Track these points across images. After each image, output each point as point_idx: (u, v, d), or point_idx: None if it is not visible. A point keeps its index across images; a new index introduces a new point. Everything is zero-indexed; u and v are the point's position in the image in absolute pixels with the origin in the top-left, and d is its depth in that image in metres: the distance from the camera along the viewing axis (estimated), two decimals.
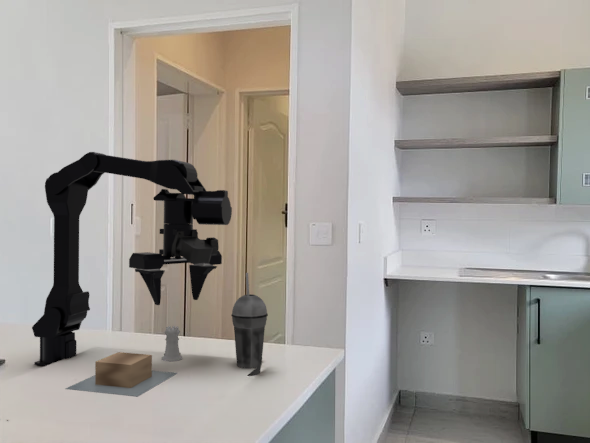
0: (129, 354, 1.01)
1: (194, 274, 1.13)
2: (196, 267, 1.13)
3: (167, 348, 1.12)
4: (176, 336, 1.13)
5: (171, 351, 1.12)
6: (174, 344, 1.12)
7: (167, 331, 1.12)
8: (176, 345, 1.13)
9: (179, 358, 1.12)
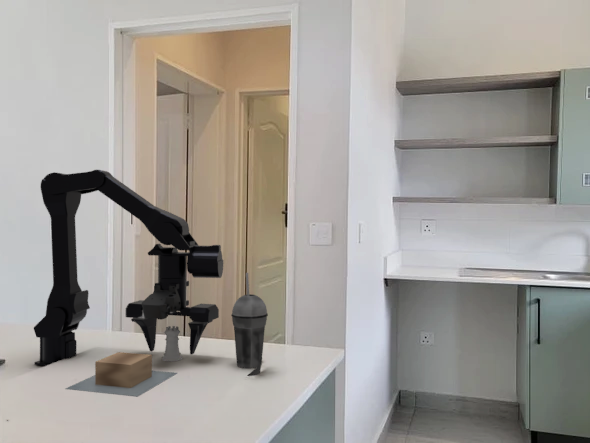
0: (129, 354, 1.01)
1: None
2: None
3: (167, 348, 1.12)
4: (176, 336, 1.13)
5: (171, 351, 1.12)
6: (174, 344, 1.12)
7: (167, 331, 1.12)
8: (176, 345, 1.13)
9: (179, 358, 1.12)
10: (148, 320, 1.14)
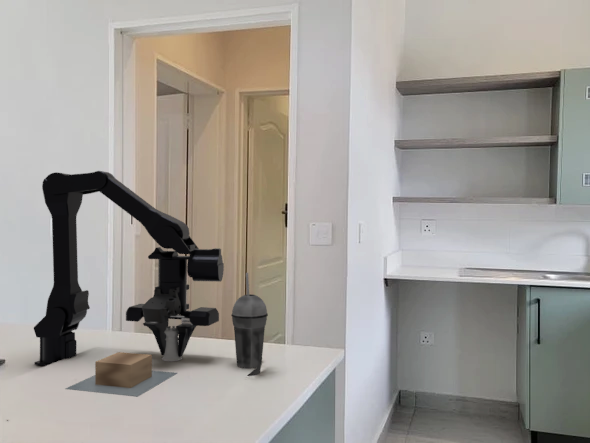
0: (129, 354, 1.01)
1: None
2: None
3: (167, 348, 1.12)
4: (176, 336, 1.13)
5: (171, 351, 1.12)
6: (174, 344, 1.12)
7: (167, 331, 1.12)
8: (176, 345, 1.13)
9: (179, 358, 1.12)
10: (160, 324, 1.13)
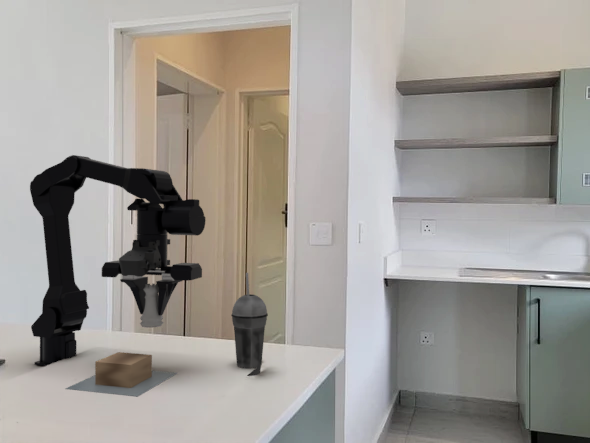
0: (129, 354, 1.01)
1: None
2: None
3: (146, 306, 1.05)
4: (156, 293, 1.05)
5: (150, 309, 1.05)
6: (154, 302, 1.05)
7: (146, 288, 1.05)
8: (156, 303, 1.05)
9: (159, 317, 1.05)
10: (139, 281, 1.06)
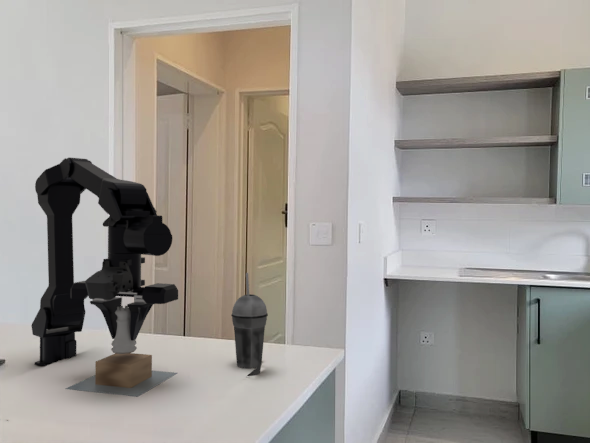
0: (129, 354, 1.01)
1: None
2: None
3: (118, 331, 0.97)
4: (128, 317, 0.97)
5: (122, 334, 0.97)
6: (126, 326, 0.97)
7: (118, 311, 0.97)
8: (128, 327, 0.97)
9: (132, 342, 0.97)
10: (110, 303, 0.98)
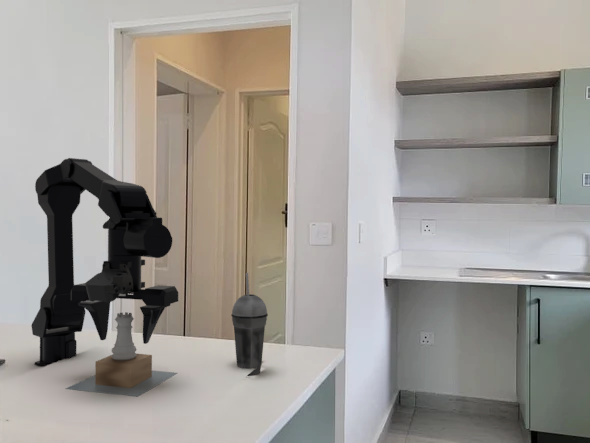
0: None
1: None
2: None
3: (118, 338, 0.97)
4: (129, 324, 0.97)
5: (122, 341, 0.97)
6: (126, 333, 0.97)
7: (118, 318, 0.97)
8: (129, 334, 0.97)
9: (132, 349, 0.97)
10: (98, 304, 0.99)
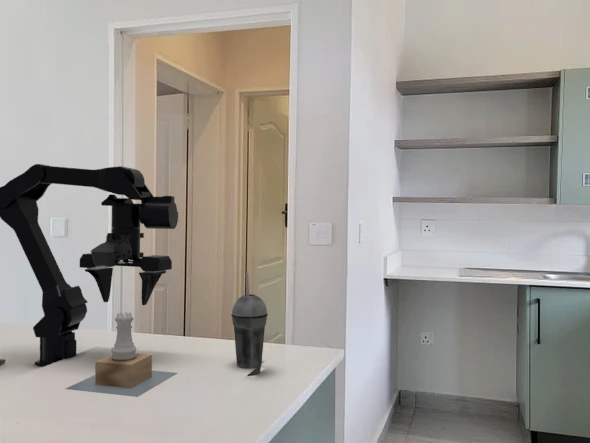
0: None
1: None
2: None
3: (118, 338, 0.97)
4: (128, 324, 0.97)
5: (122, 341, 0.97)
6: (126, 333, 0.97)
7: (118, 318, 0.97)
8: (128, 334, 0.97)
9: (132, 349, 0.97)
10: (102, 271, 1.14)
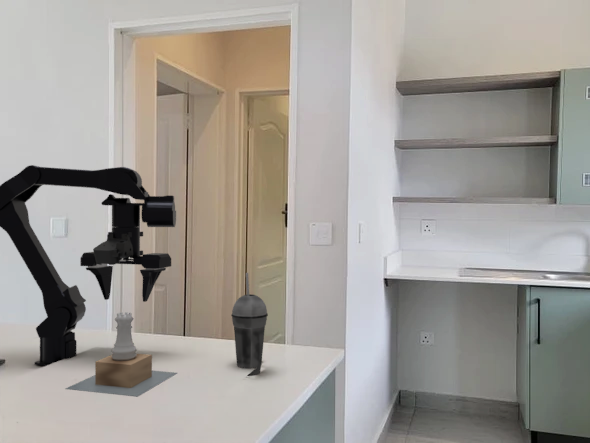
0: None
1: None
2: None
3: (118, 338, 0.97)
4: (128, 324, 0.97)
5: (122, 341, 0.97)
6: (126, 333, 0.97)
7: (118, 318, 0.97)
8: (128, 334, 0.97)
9: (132, 349, 0.97)
10: (103, 269, 1.17)
